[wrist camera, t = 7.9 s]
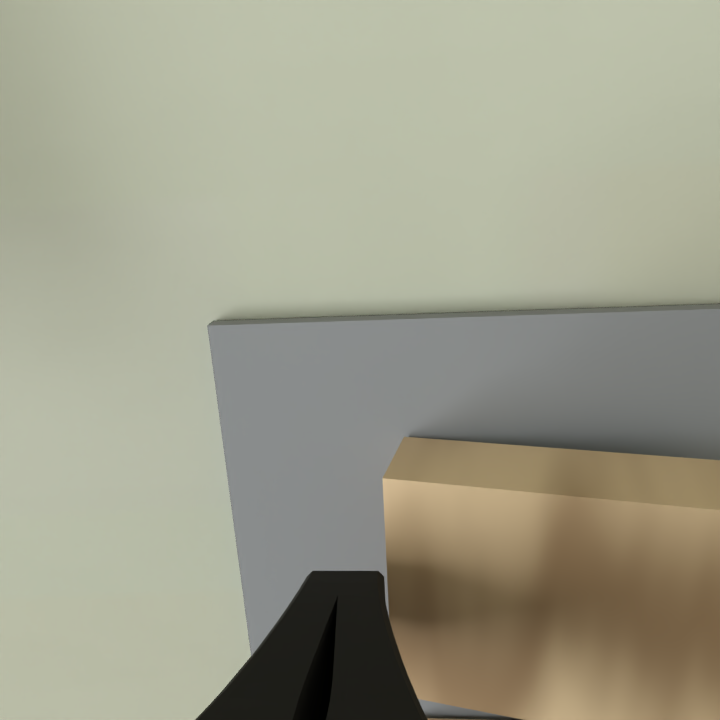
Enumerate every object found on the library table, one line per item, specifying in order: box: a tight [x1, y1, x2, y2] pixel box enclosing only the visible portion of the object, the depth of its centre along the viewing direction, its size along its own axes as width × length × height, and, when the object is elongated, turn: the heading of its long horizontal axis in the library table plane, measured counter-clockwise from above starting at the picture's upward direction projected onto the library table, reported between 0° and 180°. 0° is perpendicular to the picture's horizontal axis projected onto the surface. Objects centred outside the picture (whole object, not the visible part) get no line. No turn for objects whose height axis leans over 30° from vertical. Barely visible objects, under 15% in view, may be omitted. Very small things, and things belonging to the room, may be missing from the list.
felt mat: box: [208, 304, 720, 720], centre depth 15 cm, size 19×14×1 cm
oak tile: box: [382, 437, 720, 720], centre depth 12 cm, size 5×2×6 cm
